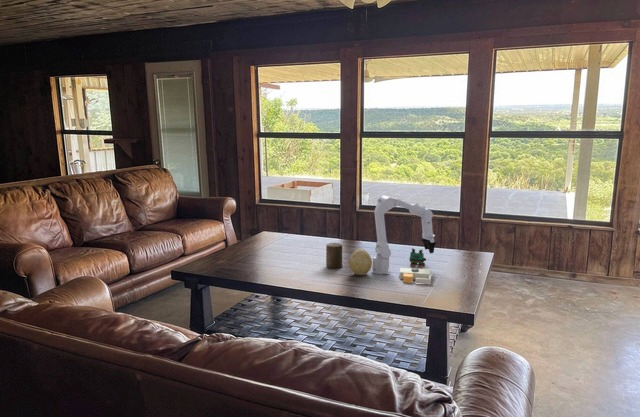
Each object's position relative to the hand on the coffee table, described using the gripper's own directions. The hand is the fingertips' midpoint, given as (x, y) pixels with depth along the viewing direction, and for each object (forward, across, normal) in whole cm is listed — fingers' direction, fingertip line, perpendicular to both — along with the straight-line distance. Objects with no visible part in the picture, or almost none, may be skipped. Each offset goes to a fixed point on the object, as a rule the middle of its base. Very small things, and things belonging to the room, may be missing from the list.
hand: (429, 251), depth 270 cm
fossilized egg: (+5, -6, +43) cm, 44 cm away
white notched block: (+9, -17, +15) cm, 24 cm away
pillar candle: (+4, +11, +56) cm, 57 cm away
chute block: (+8, -19, +20) cm, 29 cm away
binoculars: (+10, +7, +6) cm, 14 cm away
